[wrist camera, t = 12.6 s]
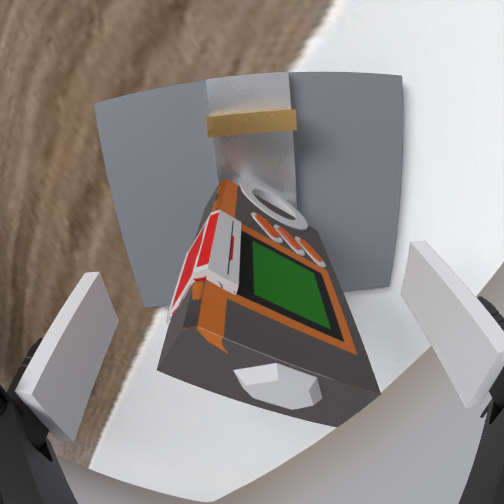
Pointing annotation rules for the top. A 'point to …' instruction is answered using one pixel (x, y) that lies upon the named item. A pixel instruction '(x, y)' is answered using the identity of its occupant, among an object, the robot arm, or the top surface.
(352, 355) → the electronic device
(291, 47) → the top surface
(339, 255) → the panel
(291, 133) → the rail
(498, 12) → the top surface
